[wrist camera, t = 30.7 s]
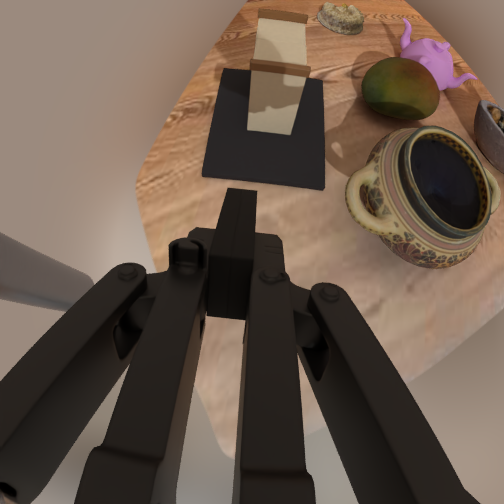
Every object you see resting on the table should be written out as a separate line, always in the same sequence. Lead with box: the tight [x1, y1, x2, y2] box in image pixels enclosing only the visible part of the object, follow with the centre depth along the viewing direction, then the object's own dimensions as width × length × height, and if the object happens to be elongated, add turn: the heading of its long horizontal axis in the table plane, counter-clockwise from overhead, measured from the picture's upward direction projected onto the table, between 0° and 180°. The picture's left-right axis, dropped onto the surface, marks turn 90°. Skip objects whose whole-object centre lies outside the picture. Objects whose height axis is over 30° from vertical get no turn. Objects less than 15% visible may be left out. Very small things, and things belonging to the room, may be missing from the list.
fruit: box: [361, 57, 440, 120], centre depth 42 cm, size 12×12×10 cm
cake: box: [317, 2, 364, 35], centre depth 50 cm, size 10×10×5 cm
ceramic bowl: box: [345, 126, 500, 269], centre depth 35 cm, size 24×18×15 cm
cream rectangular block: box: [247, 39, 311, 135], centre depth 37 cm, size 6×6×13 cm
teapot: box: [400, 18, 477, 90], centre depth 46 cm, size 12×14×9 cm
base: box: [202, 8, 325, 191], centre depth 37 cm, size 16×20×14 cm
